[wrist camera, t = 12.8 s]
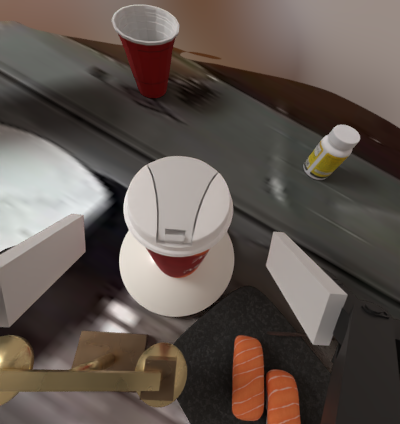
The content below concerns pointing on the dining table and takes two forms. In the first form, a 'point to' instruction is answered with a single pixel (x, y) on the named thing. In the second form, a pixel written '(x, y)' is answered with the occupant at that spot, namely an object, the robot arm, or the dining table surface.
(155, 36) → the plastic cup
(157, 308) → the white round disc
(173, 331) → the dining table surface
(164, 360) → the balance
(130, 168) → the dining table surface
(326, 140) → the supplement bottle
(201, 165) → the coffee cup
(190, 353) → the sushi plate
